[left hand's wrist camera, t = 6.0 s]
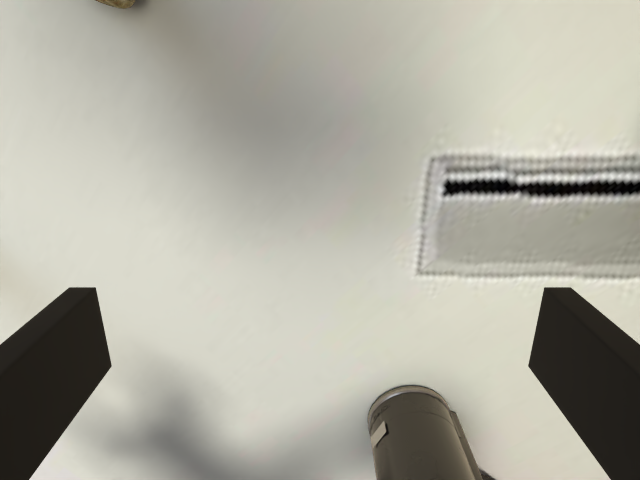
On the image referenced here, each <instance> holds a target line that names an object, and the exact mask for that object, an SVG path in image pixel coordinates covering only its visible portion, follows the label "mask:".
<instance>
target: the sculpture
mask: <svg viewBox="0 0 640 480" xmlns="http://www.w3.org/2000/svg"><path fill="white" fill-rule="evenodd" d="M96 1H98V2H101V3H104V4H107V5H109V6H113V7H117V8H123V9H125V8H129V7H131V6H132V5H133V4H134V2H135V1H136V0H96Z"/></svg>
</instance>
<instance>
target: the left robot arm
mask: <svg viewBox="0 0 640 480" xmlns="http://www.w3.org/2000/svg"><path fill="white" fill-rule="evenodd" d="M110 368H111V361H110V356H109V351H108V346H107V341H106V336H105V331H104V326H103V321H102V316H101V312H100V307H99V302H98V297H97V292H96V288H68V289H67V290H66V291H65V292H63V293H62V294H61V295H60V296H59V297H57V298H56V299H55V300H54V301H53V302H51V303H50V304H49V305H48V306H47V307H45V308H44V309H43V310H42V311H40V312H39V313H38V314H37V315H36V316H34V317H33V318H32V319H31V320H30V321H28V322H27V323H26V324H25V325H24V326H22V327H21V328H20V329H19V330H18V331H16V332H15V333H14V334H13V335H12V336H10V337H9V338H8V339H7V340H5V341H4V342H3V343H2V344H1V345H0V480H29V479H30V478H31V476H32V475H33V473H34V472H35V471H36V469H37V468H38V467H39V465H40V464H41V462H42V461H43V460H44V458H45V457H46V456H47V454H48V453H49V451H50V450H51V449H52V447H53V446H54V445H55V443H56V442H57V440H58V439H59V438H60V436H61V435H62V434H63V432H64V431H65V430H66V428H67V427H68V425H69V424H70V423H71V421H72V420H73V419H74V417H75V416H76V414H77V413H78V412H79V410H80V409H81V408H82V406H83V405H84V403H85V402H86V401H87V399H88V398H89V397H90V395H91V394H92V392H93V391H94V390H95V388H96V387H97V386H98V384H99V383H100V381H101V380H102V379H103V377H104V376H105V375H106V373H107V372H108V370H109V369H110ZM529 368H530V369H531V370H532V372H533V373H534V375H535V376H536V377H537V379H538V380H539V381H540V383H541V384H542V386H543V387H544V388H545V390H546V391H547V392H548V394H549V395H550V397H551V398H552V399H553V401H554V402H555V403H556V405H557V406H558V408H559V409H560V410H561V412H562V413H563V414H564V416H565V417H566V419H567V420H568V421H569V423H570V424H571V425H572V427H573V428H574V430H575V431H576V432H577V434H578V435H579V436H580V438H581V439H582V440H583V442H584V443H585V445H586V446H587V447H588V449H589V450H590V451H591V453H592V454H593V456H594V457H595V458H596V460H597V461H598V462H599V464H600V465H601V467H602V468H603V469H604V471H605V472H606V473H607V475H608V476H609V478H610V479H611V480H640V345H639V344H638V343H637V342H636V341H635V340H633V339H632V338H631V337H630V336H628V335H627V334H626V333H625V332H624V331H622V330H621V329H620V328H619V327H618V326H616V325H615V324H614V323H613V322H612V321H610V320H609V319H608V318H607V317H606V316H604V315H603V314H602V313H601V312H600V311H598V310H597V309H596V308H595V307H593V306H592V305H591V304H590V303H589V302H587V301H586V300H585V299H584V298H583V297H581V296H580V295H579V294H578V293H577V292H575V291H574V290H573V289H572V288H544V292H543V297H542V302H541V307H540V312H539V316H538V321H537V326H536V331H535V336H534V341H533V346H532V351H531V356H530V361H529Z"/></svg>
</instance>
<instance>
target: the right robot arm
mask: <svg viewBox="0 0 640 480" xmlns="http://www.w3.org/2000/svg"><path fill="white" fill-rule="evenodd" d="M368 428H369V433H370V436H371V444H372V450H373V458H374V465H375V472H376V479H377V480H493V479H491V478H490V477H488V476H485V475H481V474H480V471H479V469H478V466H477V464H476V461H475V459H474V457H473V454H472V452H471V449H470V447H469V444H468V442H467V439H466V437H465V434H464V432H463V430H462V427H461V425H460V422H459V420H458V417H457V415H456V413H454V412H451V411H450V410H449V407H448V405H447V403H446V402H445V400H444V399H443V398H442V397H441V396H440V395H439V394H437V393H436V392H434V391H432V390H430V389H427V388H424V387H419V386H405V387H400V388H396V389H393V390H391V391H389V392H387V393H385V394H383V395H382V396H381V397H380V398H378V399H377V400H376V402H375V403H374V404H373V406H372V407H371V409H370V411H369V415H368Z"/></svg>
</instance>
